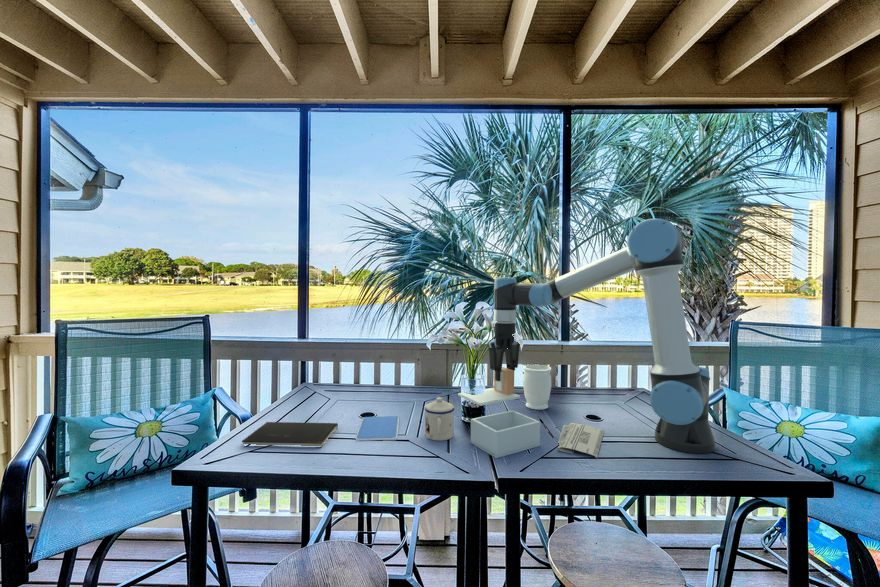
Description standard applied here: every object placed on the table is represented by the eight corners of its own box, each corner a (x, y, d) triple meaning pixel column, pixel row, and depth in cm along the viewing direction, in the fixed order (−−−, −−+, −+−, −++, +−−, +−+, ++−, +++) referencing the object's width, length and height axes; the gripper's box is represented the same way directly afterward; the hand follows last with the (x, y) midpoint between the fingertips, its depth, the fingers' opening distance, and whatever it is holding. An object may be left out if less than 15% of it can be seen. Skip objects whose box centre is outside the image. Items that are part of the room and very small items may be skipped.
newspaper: (563, 427, 133) (564, 419, 133) (603, 437, 128) (604, 429, 128) (549, 452, 113) (550, 444, 113) (596, 466, 107) (597, 457, 107)
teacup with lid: (425, 429, 128) (425, 393, 128) (453, 430, 128) (454, 393, 128) (423, 445, 116) (423, 405, 116) (454, 445, 116) (454, 405, 116)
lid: (520, 398, 136) (520, 372, 135) (480, 405, 127) (480, 378, 127) (496, 389, 146) (496, 365, 146) (458, 395, 138) (458, 370, 138)
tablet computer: (397, 442, 120) (397, 437, 120) (354, 443, 119) (354, 438, 119) (399, 419, 140) (399, 415, 139) (362, 420, 139) (362, 416, 139)
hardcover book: (321, 450, 114) (321, 442, 114) (241, 448, 115) (241, 440, 115) (337, 429, 130) (337, 422, 130) (267, 428, 131) (267, 421, 131)
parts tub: (540, 445, 116) (540, 421, 116) (496, 458, 108) (496, 432, 108) (512, 432, 127) (512, 410, 126) (470, 442, 119) (470, 419, 118)
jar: (554, 411, 147) (554, 370, 146) (525, 411, 147) (526, 370, 147) (547, 402, 158) (547, 364, 157) (520, 402, 158) (520, 364, 157)
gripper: (515, 319, 147) (514, 383, 147) (479, 322, 138) (478, 389, 139) (529, 321, 140) (528, 388, 141) (492, 324, 132) (492, 395, 133)
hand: (503, 389), depth 140 cm, fingers closed on lid, 3 cm apart
